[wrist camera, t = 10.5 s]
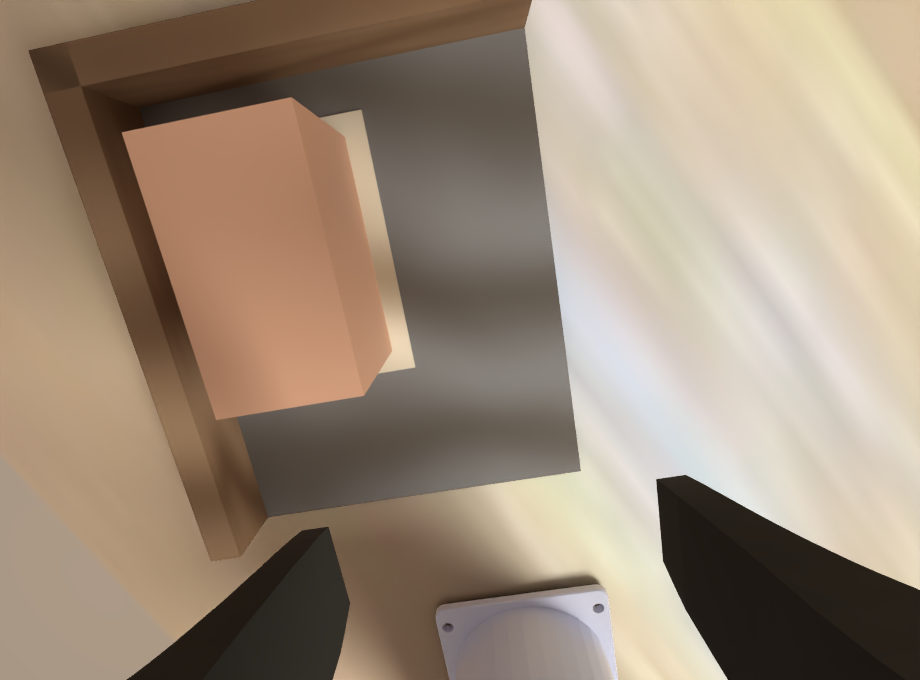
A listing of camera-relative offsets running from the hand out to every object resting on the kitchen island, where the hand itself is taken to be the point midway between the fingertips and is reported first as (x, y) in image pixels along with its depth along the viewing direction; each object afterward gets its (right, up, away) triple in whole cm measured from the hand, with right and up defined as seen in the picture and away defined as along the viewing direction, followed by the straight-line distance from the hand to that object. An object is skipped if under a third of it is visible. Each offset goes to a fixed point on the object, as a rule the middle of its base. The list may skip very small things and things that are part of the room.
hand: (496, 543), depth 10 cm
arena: (-5, +6, +8) cm, 11 cm away
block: (-6, +7, +7) cm, 12 cm away
